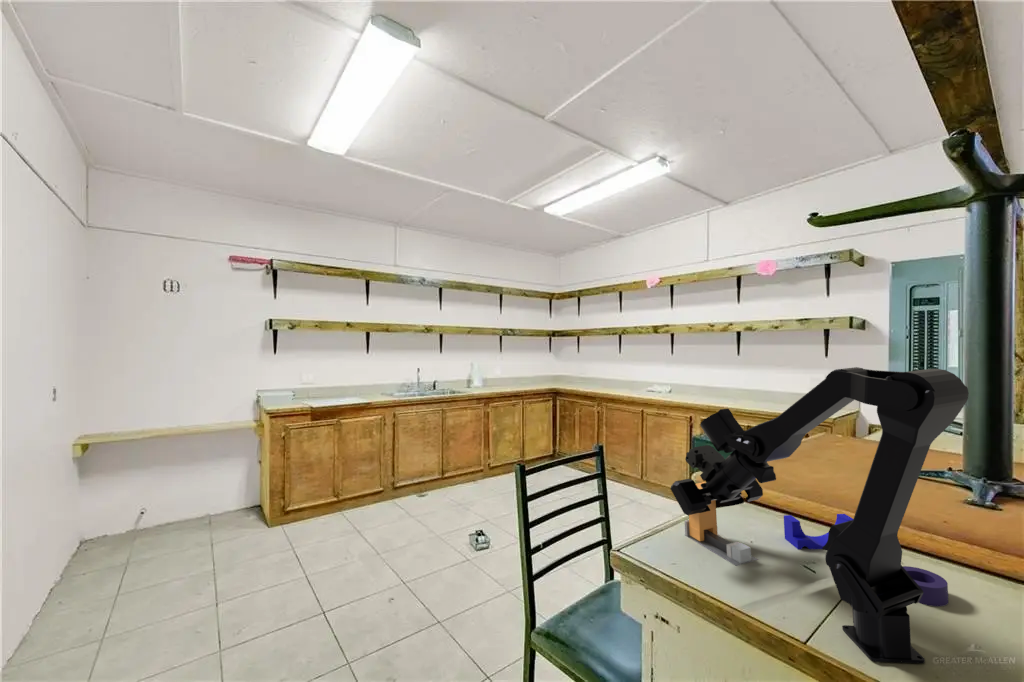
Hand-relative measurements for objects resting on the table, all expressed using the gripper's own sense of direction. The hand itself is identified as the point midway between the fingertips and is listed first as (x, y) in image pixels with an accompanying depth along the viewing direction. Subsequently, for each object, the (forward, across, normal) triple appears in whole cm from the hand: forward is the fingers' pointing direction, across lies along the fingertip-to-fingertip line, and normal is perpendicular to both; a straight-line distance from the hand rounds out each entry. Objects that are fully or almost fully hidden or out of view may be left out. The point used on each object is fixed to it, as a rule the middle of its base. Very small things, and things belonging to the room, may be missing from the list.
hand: (697, 509), depth 92 cm
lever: (-14, -17, +24) cm, 32 cm away
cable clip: (-4, -19, +14) cm, 24 cm away
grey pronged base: (+1, 0, +8) cm, 8 cm away
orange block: (+3, 0, +5) cm, 6 cm away
